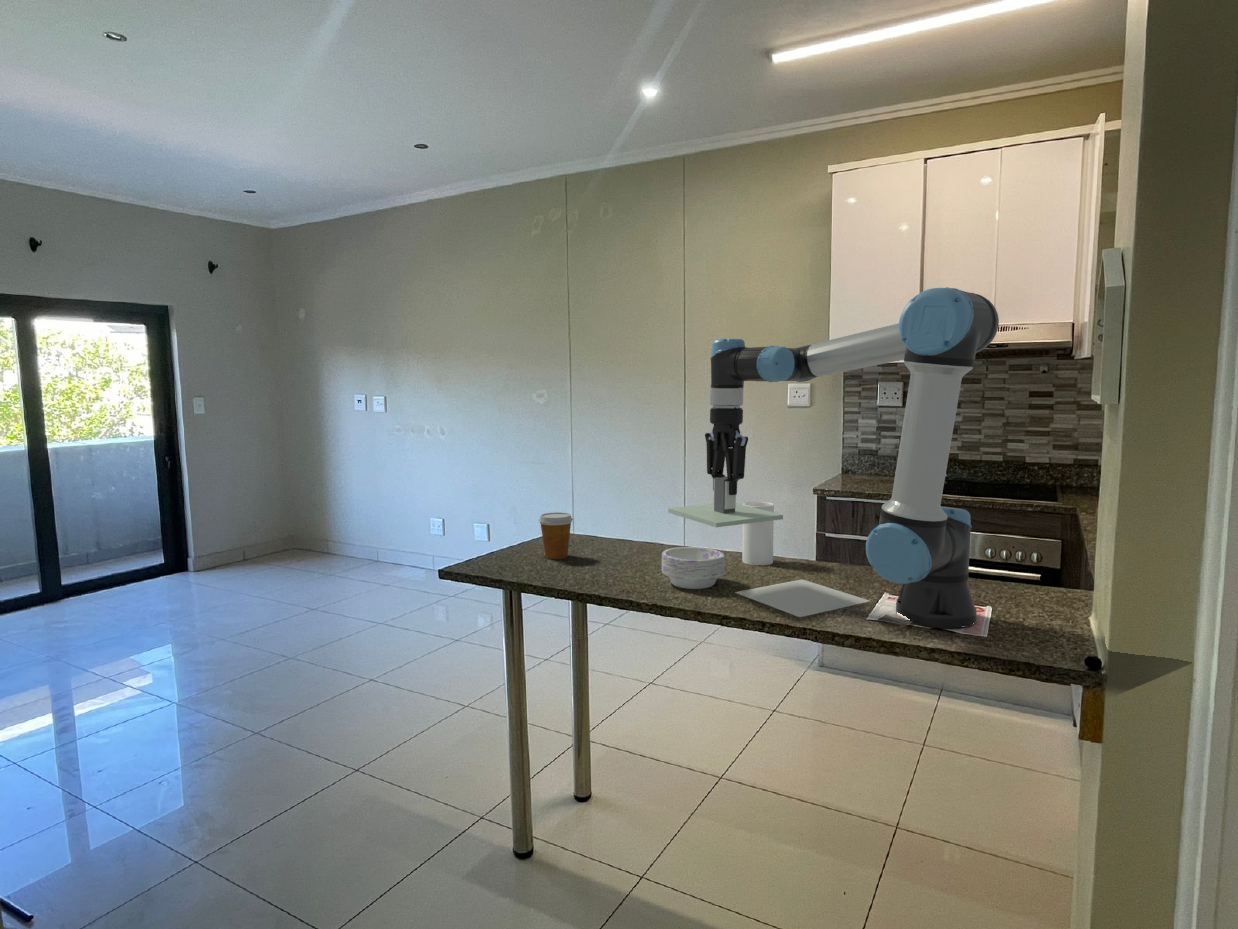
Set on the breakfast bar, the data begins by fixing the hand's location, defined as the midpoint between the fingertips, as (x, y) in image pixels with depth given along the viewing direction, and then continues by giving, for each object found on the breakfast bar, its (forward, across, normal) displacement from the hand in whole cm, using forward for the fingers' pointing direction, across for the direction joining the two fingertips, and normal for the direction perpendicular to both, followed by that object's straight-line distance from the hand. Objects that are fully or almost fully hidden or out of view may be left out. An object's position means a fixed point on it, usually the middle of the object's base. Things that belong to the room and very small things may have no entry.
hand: (724, 506), depth 167 cm
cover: (+2, 0, 0) cm, 2 cm away
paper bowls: (+20, +6, +4) cm, 21 cm away
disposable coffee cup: (+21, +50, +21) cm, 58 cm away
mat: (+19, -16, -10) cm, 27 cm away
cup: (+20, +15, -24) cm, 34 cm away
